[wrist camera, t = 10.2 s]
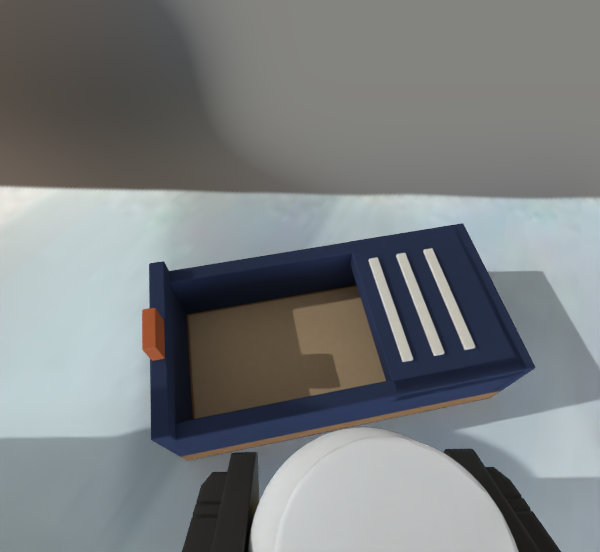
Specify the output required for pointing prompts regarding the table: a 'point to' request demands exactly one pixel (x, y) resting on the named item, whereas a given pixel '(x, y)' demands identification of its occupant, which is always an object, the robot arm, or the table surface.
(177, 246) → the table surface
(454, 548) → the supplement bottle
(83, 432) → the table surface
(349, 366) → the navy storage tray
